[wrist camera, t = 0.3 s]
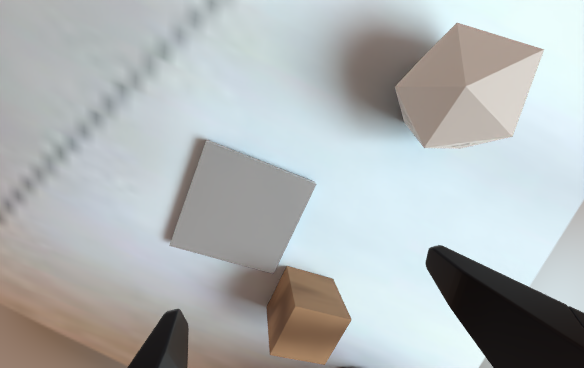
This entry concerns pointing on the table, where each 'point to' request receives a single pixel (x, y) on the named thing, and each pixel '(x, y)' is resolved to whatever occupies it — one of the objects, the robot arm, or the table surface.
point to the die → (467, 88)
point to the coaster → (240, 209)
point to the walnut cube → (305, 317)
